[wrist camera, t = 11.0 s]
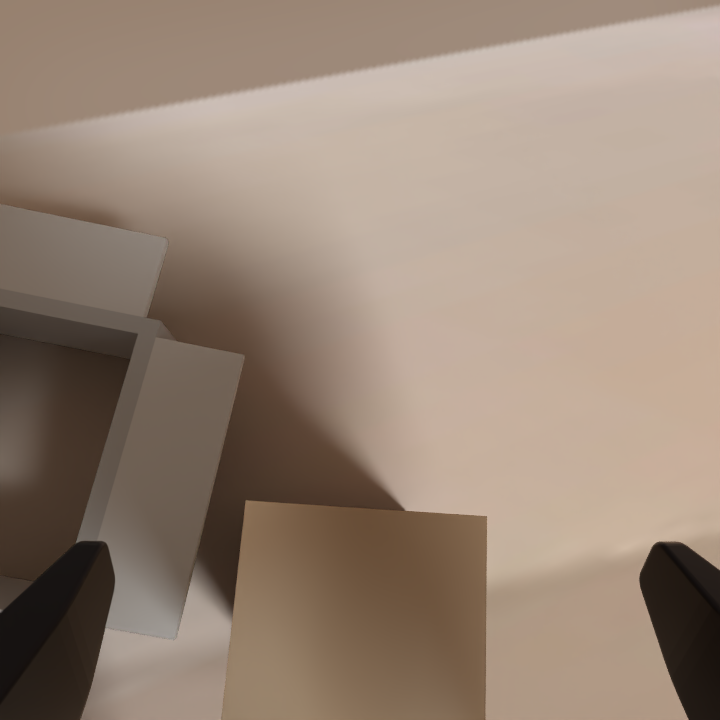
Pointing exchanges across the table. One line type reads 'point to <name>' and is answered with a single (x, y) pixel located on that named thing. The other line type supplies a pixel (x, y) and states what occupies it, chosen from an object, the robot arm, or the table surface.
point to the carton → (126, 402)
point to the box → (357, 615)
